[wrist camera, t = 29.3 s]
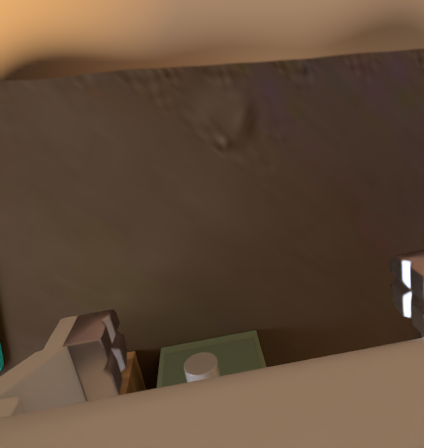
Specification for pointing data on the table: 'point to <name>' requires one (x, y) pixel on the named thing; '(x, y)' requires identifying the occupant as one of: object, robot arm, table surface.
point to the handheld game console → (1, 359)
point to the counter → (221, 347)
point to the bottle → (201, 367)
